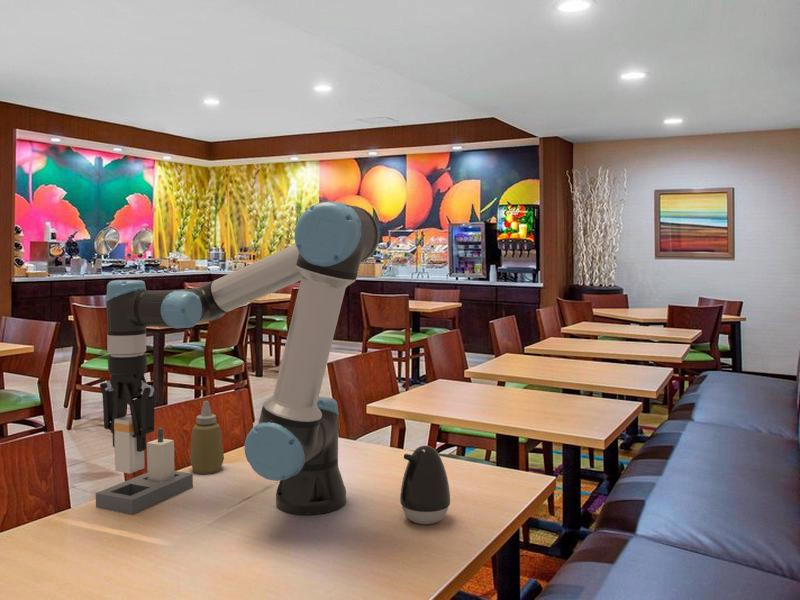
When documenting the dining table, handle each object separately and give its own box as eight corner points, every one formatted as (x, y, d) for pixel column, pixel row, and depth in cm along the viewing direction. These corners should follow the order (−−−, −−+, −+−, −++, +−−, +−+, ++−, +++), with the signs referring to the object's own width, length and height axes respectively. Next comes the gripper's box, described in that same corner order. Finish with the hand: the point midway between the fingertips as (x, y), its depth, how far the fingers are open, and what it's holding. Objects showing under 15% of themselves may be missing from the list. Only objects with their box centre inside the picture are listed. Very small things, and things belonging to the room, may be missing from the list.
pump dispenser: (389, 517, 138) (389, 444, 137) (428, 506, 144) (429, 436, 143) (419, 534, 130) (420, 456, 129) (460, 521, 136) (461, 447, 135)
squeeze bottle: (214, 480, 160) (213, 405, 159) (183, 478, 161) (182, 404, 160) (229, 469, 168) (229, 398, 167) (200, 467, 169) (198, 397, 168)
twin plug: (174, 488, 151) (173, 427, 150) (161, 494, 148) (160, 431, 147) (160, 485, 153) (159, 425, 152) (147, 491, 149) (146, 429, 148)
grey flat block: (193, 491, 153) (192, 473, 152) (132, 519, 136) (132, 500, 136) (158, 484, 156) (158, 468, 156) (96, 511, 140) (95, 493, 140)
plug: (130, 473, 139) (128, 421, 138) (115, 471, 141) (113, 419, 140) (144, 468, 143) (143, 416, 142) (130, 465, 144) (129, 414, 144)
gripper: (172, 354, 140) (174, 464, 142) (110, 349, 147) (113, 454, 148) (145, 359, 133) (147, 475, 135) (82, 354, 140) (85, 464, 141)
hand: (129, 464), depth 142 cm, fingers closed on plug, 4 cm apart
